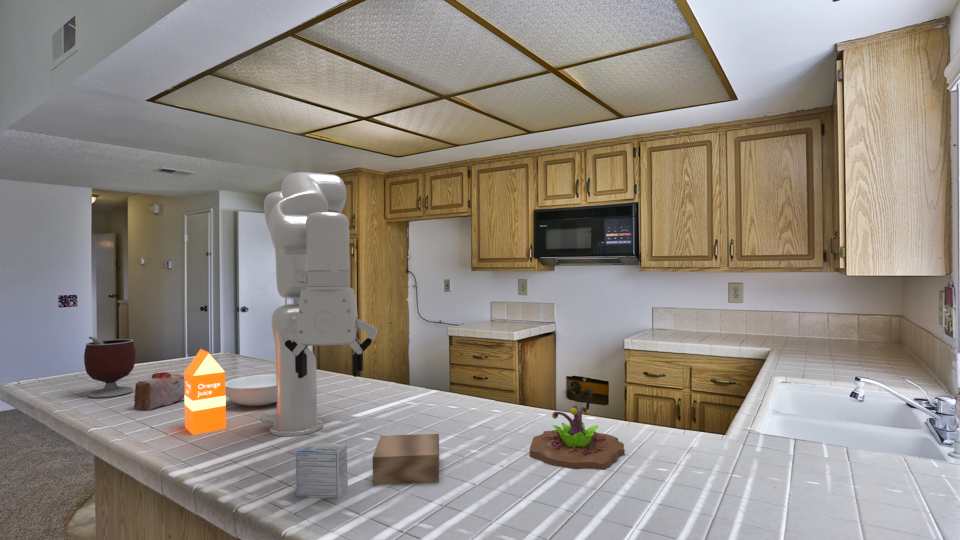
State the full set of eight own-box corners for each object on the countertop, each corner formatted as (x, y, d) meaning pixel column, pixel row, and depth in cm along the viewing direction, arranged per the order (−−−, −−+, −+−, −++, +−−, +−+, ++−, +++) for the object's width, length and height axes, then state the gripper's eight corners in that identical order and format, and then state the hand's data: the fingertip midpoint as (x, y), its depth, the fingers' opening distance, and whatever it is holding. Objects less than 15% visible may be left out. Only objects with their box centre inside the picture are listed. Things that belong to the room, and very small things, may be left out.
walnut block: (373, 489, 93) (372, 457, 93) (381, 464, 105) (380, 435, 105) (438, 487, 94) (438, 454, 94) (439, 462, 106) (438, 433, 106)
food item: (169, 398, 162) (169, 367, 162) (190, 399, 160) (190, 368, 160) (131, 409, 149) (130, 376, 149) (153, 411, 147) (152, 377, 147)
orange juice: (192, 435, 124) (191, 354, 124) (184, 427, 130) (183, 350, 130) (226, 428, 129) (225, 350, 129) (217, 421, 136) (216, 346, 136)
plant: (517, 465, 104) (516, 411, 104) (542, 435, 122) (542, 389, 122) (617, 480, 96) (616, 421, 96) (628, 446, 114) (628, 396, 114)
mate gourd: (106, 388, 177) (105, 330, 177) (145, 387, 176) (144, 330, 176) (69, 399, 161) (68, 336, 161) (111, 399, 161) (110, 336, 161)
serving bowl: (312, 399, 158) (312, 377, 158) (251, 416, 141) (250, 391, 141) (270, 391, 169) (270, 370, 169) (209, 406, 152) (208, 383, 152)
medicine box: (348, 491, 92) (347, 443, 92) (339, 502, 87) (338, 452, 87) (306, 489, 93) (306, 442, 93) (295, 501, 88) (294, 451, 88)
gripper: (272, 282, 87) (273, 381, 87) (373, 280, 88) (374, 379, 88) (286, 281, 95) (287, 373, 95) (379, 280, 96) (381, 370, 96)
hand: (329, 376), depth 91 cm, fingers open, 9 cm apart
